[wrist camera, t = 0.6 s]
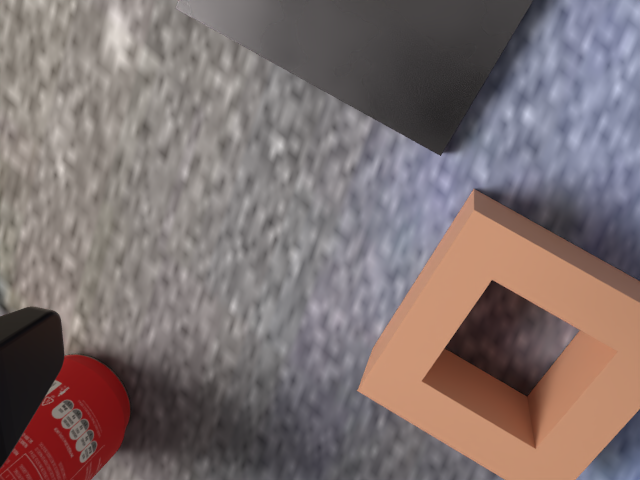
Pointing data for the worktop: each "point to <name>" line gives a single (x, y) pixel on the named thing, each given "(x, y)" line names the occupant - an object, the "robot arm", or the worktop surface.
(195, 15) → the black plate with peg
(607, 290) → the ring
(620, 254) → the worktop surface
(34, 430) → the beverage can
